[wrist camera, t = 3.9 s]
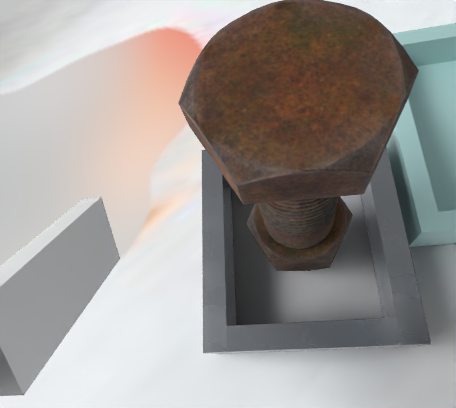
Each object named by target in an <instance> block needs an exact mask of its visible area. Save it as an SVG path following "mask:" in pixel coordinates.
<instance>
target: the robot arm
mask: <svg viewBox="0 0 456 408" xmlns="http://www.w3.org/2000/svg"><path fill="white" fill-rule="evenodd" d="M119 259H120V257H119V254H118V250H117V247H116V244H115V241H114V238H113V234H112V231H111V228H110V224H109V221H108V217H107V214H106V211H105V208H104V205H103V201H102V198H101V197H94V198H86V199H82V200H81V201H80V202H78V203H77V204H76V205H75V206H73V207H72V208H71V209H70V210H69V211H67V212H66V213H65V214H64V215H63V216H61V217H60V218H59V219H58V220H56V221H55V222H54V223H53V224H51V225H50V226H49V227H48V228H46V229H45V230H44V231H43V232H42V233H40V234H39V235H38V236H37V237H35V238H34V239H33V240H32V241H31V242H29V243H28V244H27V245H26V246H24V247H23V248H22V249H21V250H19V251H18V252H17V253H16V254H15V255H14V256H12V257H11V258H10V259H8V260H7V261H6V262H5V263H4V264H3V265H1V266H0V396H11V395H24V394H25V393H26V391H27V390H28V388H29V387H30V386H31V384H32V383H33V381H34V380H35V378H36V377H37V376H38V374H39V373H40V371H41V370H42V368H43V367H44V366H45V364H46V363H47V361H48V360H49V359H50V357H51V356H52V354H53V353H54V351H55V350H56V349H57V347H58V346H59V344H60V343H61V341H62V340H63V339H64V337H65V336H66V334H67V333H68V332H69V330H70V329H71V327H72V326H73V324H74V323H75V322H76V320H77V319H78V317H79V316H80V314H81V313H82V312H83V310H84V309H85V307H86V306H87V305H88V303H89V302H90V300H91V299H92V297H93V296H94V295H95V293H96V292H97V290H98V289H99V287H100V286H101V285H102V283H103V282H104V280H105V279H106V278H107V276H108V275H109V273H110V272H111V270H112V269H113V268H114V266H115V265H116V263H117V262H118V261H119Z"/></svg>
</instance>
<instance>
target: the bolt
mask: <svg viewBox="0 0 456 408" xmlns="http://www.w3.org/2000/svg"><path fill="white" fill-rule="evenodd" d="M418 72H419V70H418V68H417V67H416V65H415V64H414V62H413V61H412V59H411V58H410V56H409V55H408V53H407V52H406V50H405V49H404V47H403V46H402V45H401V44H400V42H399V41H398V40H397V39H396V38H395V37H394V35H393V34H392V33H391V32H390V31H389V30H388V29H387V28H386V27H385V26H384V25H383V24H381V23H380V22H379V21H378V20H377V19H375V18H374V17H373V16H371V15H370V14H368V13H366V12H364V11H362V10H360V9H358V8H355V7H351V6H348V5H344V4H340V3H335V2H329V1H324V0H283V1H278V2H274V3H270V4H268V5H265V6H262V7H260V8H257V9H255V10H252V11H250V12H249V13H247V14H245V15H243V16H241V17H240V18H238V19H236V20H234V21H232V22H231V23H229V24H228V25H227V26H225V27H224V28H222V29H221V30H219V31H218V32H217V33H216V34H215V35H214V36H213V37H212V38H211V39H210V41H209V42H208V43H207V45H206V46H205V47H204V49H203V50H202V52H201V53H200V55H199V57H198V58H197V60H196V62H195V64H194V66H193V68H192V70H191V72H190V74H189V76H188V79H187V81H186V84H185V87H184V89H183V92H182V95H181V98H180V100H179V105H180V107H181V109H182V111H183V114H184V116H185V118H186V120H187V122H188V124H189V126H190V128H191V129H192V131H193V132H194V133H195V135H196V136H197V138H198V139H199V141H200V142H201V144H202V145H203V147H204V148H205V149H206V151H207V152H208V154H209V155H210V157H211V158H212V160H213V161H214V163H215V164H216V165H217V167H218V168H219V170H220V171H221V173H222V174H223V176H224V177H225V178H226V180H227V181H228V183H229V184H230V186H231V187H232V189H233V190H234V192H235V193H236V194H237V196H238V197H239V199H240V200H241V202H242V203H243V205H245V204H255V205H254V207H253V209H252V211H251V213H250V216H249V218H248V221H247V226H248V228H249V230H250V232H251V233H252V235H253V237H254V238H255V240H256V241H257V243H258V244H259V246H260V247H261V249H262V250H263V252H264V253H265V255H266V256H267V258H268V259H269V261H270V262H271V263H272V265H273V266H274V268H275V269H276V270H277V271H305V270H307V271H310V270H315V269H322V268H329V267H330V265H331V263H332V261H333V259H334V257H335V255H336V253H337V250H338V248H339V246H340V244H341V242H342V240H343V237H344V235H345V233H346V231H347V228H348V226H349V224H350V221H351V218H352V213H351V212H350V210H349V209H348V207H347V206H346V204H345V203H344V201H343V200H342V199H341V197H340V196H348V195H359V194H364V193H365V191H366V189H367V187H368V184H369V182H370V180H371V178H372V176H373V174H374V172H375V170H376V167H377V165H378V163H379V161H380V159H381V157H382V154H383V152H384V150H385V148H386V146H387V144H388V141H389V139H390V137H391V135H392V133H393V130H394V128H395V126H396V124H397V122H398V120H399V117H400V115H401V113H402V111H403V109H404V107H405V104H406V102H407V100H408V97H409V95H410V92H411V90H412V87H413V85H414V82H415V79H416V77H417V74H418Z"/></svg>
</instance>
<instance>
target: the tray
mask: <svg viewBox="0 0 456 408" xmlns="http://www.w3.org/2000/svg"><path fill="white" fill-rule="evenodd" d="M393 35H394V37H395V38H396V39H397V40H398V41H399V42H400V44H401V45H402V46H403V47H404V49H405V50H406V52H407V53H408V55H409V56H410V58H411V59H412V61H413V62H414V64H415V65H416V67H417V68H418V70H419V72H418V74H417V77H416V79H415V82H414V85H413V87H412V90H411V92H410V95H409V97H408V100H407V102H406V104H405V107H404V109H403V111H402V113H401V115H400V117H399V120H398V122H397V124H396V126H395V128H394V130H393V133H392V135H391V137H390V139H389V141H388V144H387V146H386V147H387V151H388V156H389V160H390V165H391V169H392V174H393V178H394V182H395V187H396V191H397V196H398V200H399V205H400V209H401V213H402V218H403V222H404V227H405V231H406V236H407V240H408V244H409V247H420V246H433V245H445V244H456V23H454V24H448V25H442V26H436V27H430V28H424V29H418V30H412V31H406V32H400V33H394V34H393Z"/></svg>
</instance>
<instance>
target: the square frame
mask: <svg viewBox="0 0 456 408" xmlns="http://www.w3.org/2000/svg"><path fill="white" fill-rule="evenodd" d="M361 199H362V204H363V210H364V215H365V221H366V226H367V231H368V237H369V242H370V248H371V253H372V259H373V264H374V269H375V275H376V280H377V286H378V291H379V297H380V302H381V307H382V313H383V318H374V319H354V320H334V321H314V322H295V323H275V324H255V325H236V302H235V276H234V251H233V225H232V199H231V186H230V184H229V183H228V181H227V180H226V178H225V177H224V176H223V174H222V173H221V171H220V170H219V168H218V167H217V165H216V164H215V163H214V161H213V160H212V158H211V157H210V155H209V154H208V152H207V151H206V150H202V238H203V353H214V354H220V353H246V352H272V351H298V350H324V349H350V348H376V347H402V346H418V345H427V344H431V342H430V338H429V333H428V329H427V324H426V320H425V315H424V311H423V307H422V302H421V298H420V293H419V289H418V284H417V280H416V275H415V271H414V267H413V262H412V258H411V253H410V249H409V244H408V240H407V236H406V231H405V227H404V222H403V218H402V213H401V209H400V205H399V200H398V196H397V191H396V187H395V182H394V178H393V174H392V169H391V165H390V160H389V156H388V151H387V147H386V148H385V150H384V152H383V154H382V157H381V159H380V161H379V163H378V165H377V167H376V170H375V172H374V174H373V176H372V178H371V180H370V182H369V184H368V187H367V189H366V191H365V193H364V194H361Z"/></svg>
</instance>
